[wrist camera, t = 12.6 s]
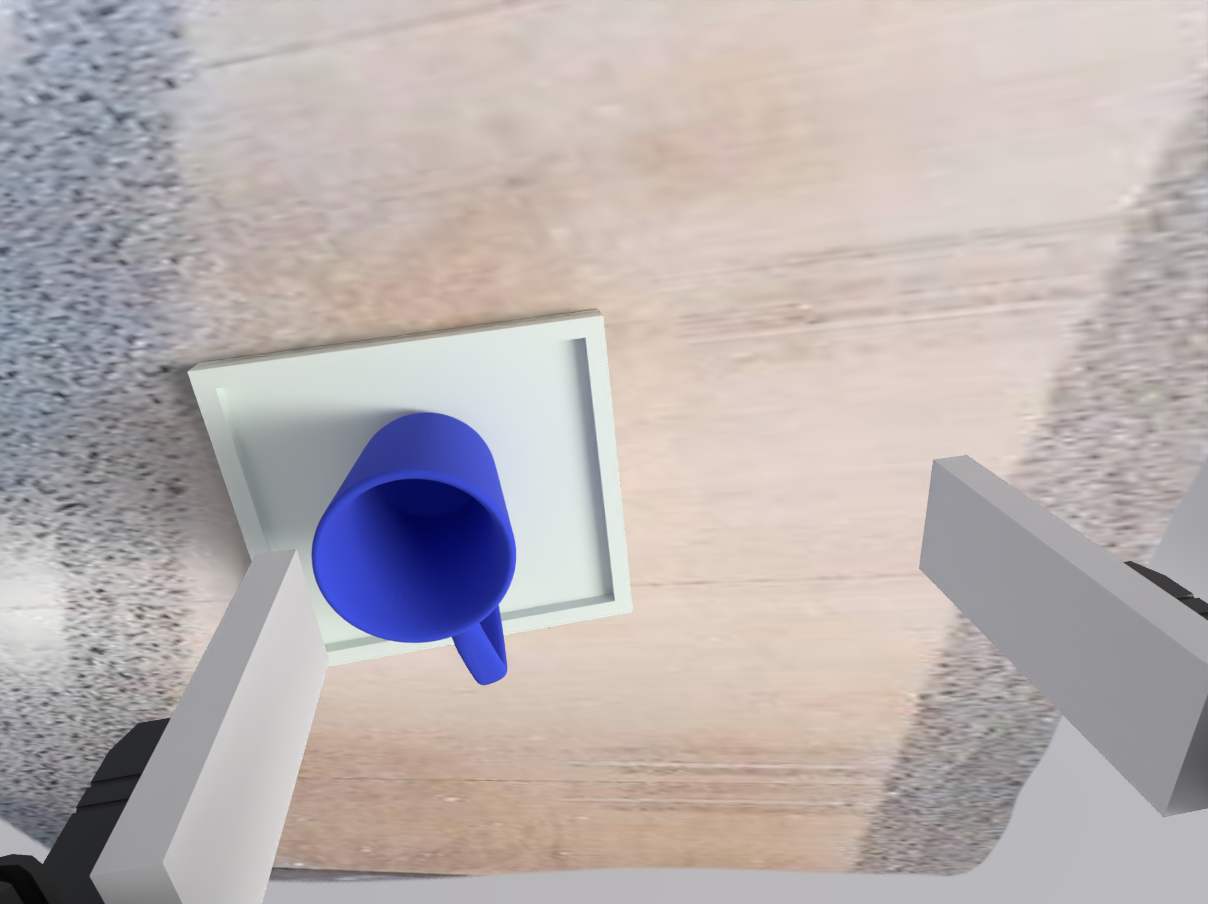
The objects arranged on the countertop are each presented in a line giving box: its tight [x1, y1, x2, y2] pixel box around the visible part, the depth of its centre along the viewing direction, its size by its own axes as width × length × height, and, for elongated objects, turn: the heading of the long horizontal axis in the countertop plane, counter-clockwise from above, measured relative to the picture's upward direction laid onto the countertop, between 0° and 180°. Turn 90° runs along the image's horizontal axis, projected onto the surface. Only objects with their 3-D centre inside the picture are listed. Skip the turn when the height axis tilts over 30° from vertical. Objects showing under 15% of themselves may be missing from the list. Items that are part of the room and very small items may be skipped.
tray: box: [188, 309, 633, 667], centre depth 40 cm, size 18×20×2 cm
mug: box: [311, 412, 516, 685], centre depth 35 cm, size 8×12×10 cm
